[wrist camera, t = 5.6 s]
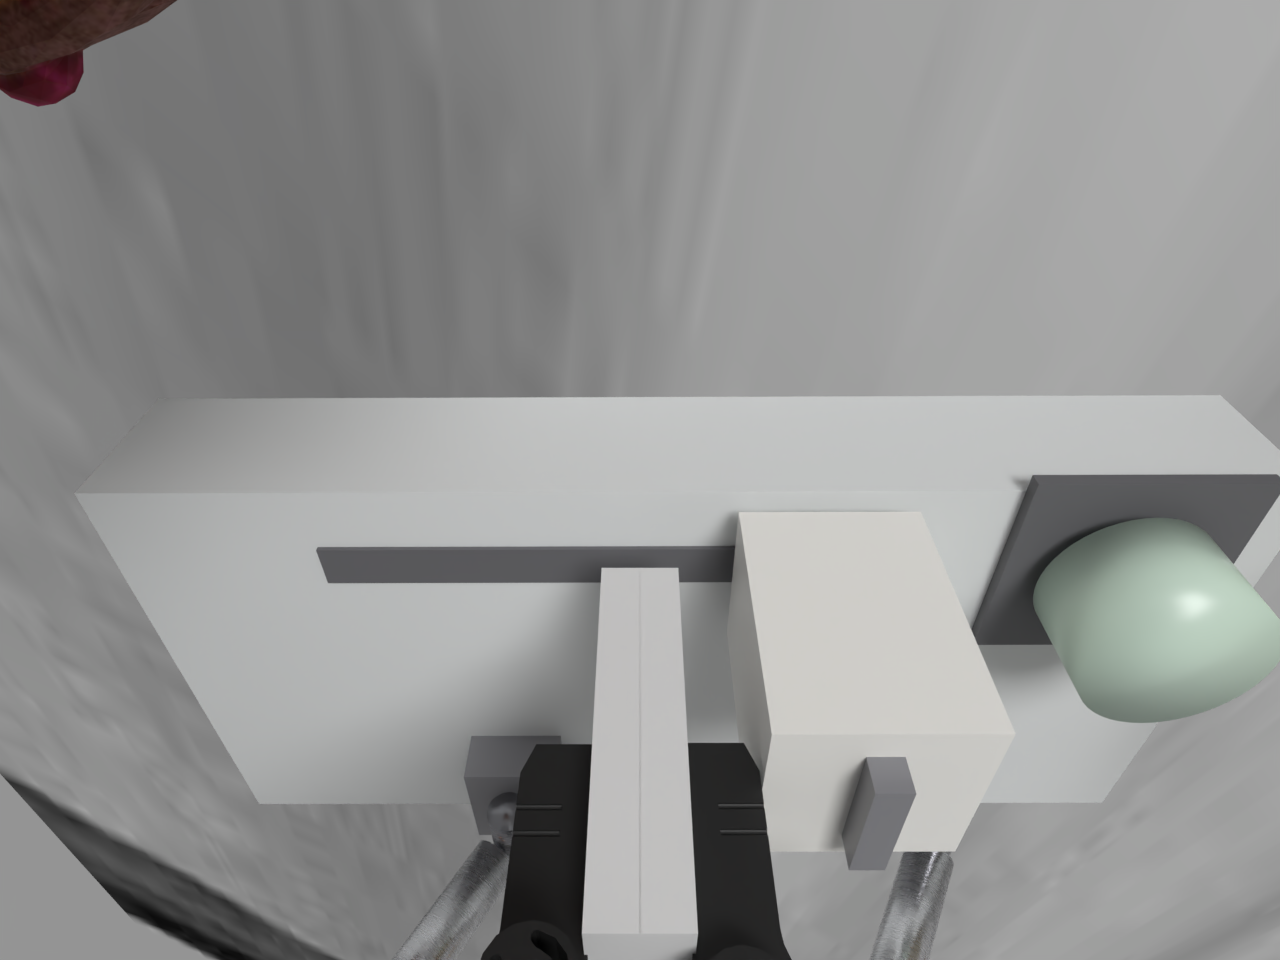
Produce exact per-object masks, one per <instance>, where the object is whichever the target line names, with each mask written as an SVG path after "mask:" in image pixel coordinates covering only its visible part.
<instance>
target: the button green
mask: <svg viewBox="0 0 1280 960" xmlns="http://www.w3.org/2000/svg"><path fill="white" fill-rule="evenodd" d="M1033 605H1034V609H1035V612H1036V614H1037V616H1038V618H1039V620H1040V621H1041V623H1042V625H1043V627H1044V629H1045V631H1046V633H1047V635H1048V637H1049V639H1050V641H1051V643H1052V644H1053V646H1054V648H1055V650H1056V652H1057V654H1058V656H1059V658H1060V660H1061V662H1062V664H1063V666H1064V667H1065V669H1066V671H1067V673H1068V675H1069V677H1070V679H1071V681H1072V683H1073V685H1074V687H1075V689H1076V690H1077V692H1078V694H1079V696H1080V698H1081V700H1082V702H1083V703H1084V704H1085V705H1086V707H1087V708H1089V709H1090V710H1091V711H1093V712H1094V713H1096V714H1098V715H1100V716H1102V717H1105V718H1108V719H1111V720H1115V721H1120V722H1128V723H1154V722H1163V721H1170V720H1176V719H1180V718H1185V717H1189V716H1192V715H1196V714H1199V713H1202V712H1205V711H1208V710H1211V709H1213V708H1216V707H1218V706H1220V705H1223V704H1225V703H1227V702H1229V701H1231V700H1233V699H1235V698H1237V697H1239V696H1240V695H1242V694H1243V693H1245V692H1247V691H1248V690H1250V689H1251V688H1253V687H1254V686H1255V685H1257V684H1258V683H1259V682H1261V681H1262V680H1263V679H1264V678H1265V677H1266V676H1267V675H1268V674H1269V673H1270V672H1271V671H1272V670H1273V669H1274V668H1275V667H1276V665H1277V664H1278V662H1279V661H1280V619H1279V618H1278V617H1277V616H1276V614H1275V613H1274V612H1273V611H1272V610H1271V608H1270V607H1269V606H1268V605H1267V604H1266V602H1265V601H1264V600H1263V599H1262V598H1261V596H1260V595H1259V594H1258V593H1257V592H1256V590H1255V589H1254V588H1253V587H1252V586H1251V584H1250V583H1249V582H1248V581H1247V580H1246V578H1245V577H1244V576H1243V575H1242V574H1241V573H1240V571H1239V570H1238V569H1237V568H1236V567H1235V565H1234V564H1233V563H1232V562H1231V561H1230V559H1229V558H1228V557H1227V556H1226V555H1225V553H1224V552H1223V551H1222V550H1221V549H1220V547H1219V546H1218V545H1217V544H1216V543H1215V541H1214V540H1213V539H1212V538H1211V537H1210V536H1209V535H1208V534H1207V532H1206V531H1204V530H1203V529H1201V528H1200V527H1198V526H1196V525H1194V524H1192V523H1189V522H1186V521H1182V520H1178V519H1171V518H1144V519H1137V520H1131V521H1127V522H1122V523H1118V524H1115V525H1112V526H1109V527H1106V528H1104V529H1101V530H1099V531H1096V532H1094V533H1092V534H1090V535H1088V536H1086V537H1084V538H1082V539H1080V540H1079V541H1077V542H1075V543H1074V544H1072V545H1071V546H1069V547H1068V548H1066V549H1065V550H1064V551H1062V552H1061V553H1060V554H1059V555H1058V556H1057V557H1056V558H1054V559H1053V561H1052V562H1051V563H1050V564H1049V565H1048V566H1047V567H1046V568H1045V570H1044V571H1043V573H1042V574H1041V576H1040V577H1039V579H1038V581H1037V583H1036V586H1035V589H1034V594H1033Z"/></svg>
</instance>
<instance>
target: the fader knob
mask: <svg viewBox="0 0 1280 960" xmlns="http://www.w3.org/2000/svg"><path fill="white" fill-rule="evenodd" d="M727 638H728V647H729V656H730V665H731V674H732V683H733V692H734V701H735V710H736V719H737V728H738V737H739V743H744V744H745V746H746V748H747V749H748V751H749V753H750V755H751V756H752V758H753V760H754V762H755V763H756V765H757V767H758V769H759V771H760V777H761V785H762V792H763V800H764V809H765V815H766V823H767V834H768V838H769V846H770V852H845V854H846V859H847V864H848V869H849V870H885V869H886V867H887V864H888V862H889V859H890V857H891V855H892V852H955V851H956V849H957V847H958V845H959V843H960V841H961V839H962V837H963V835H964V833H965V831H966V830H967V828H968V826H969V824H970V822H971V820H972V818H973V816H974V814H975V812H976V810H977V808H978V806H979V804H980V802H981V800H982V799H983V797H984V795H985V793H986V791H987V789H988V787H989V785H990V783H991V781H992V779H993V777H994V775H995V773H996V771H997V769H998V768H999V766H1000V764H1001V762H1002V760H1003V758H1004V756H1005V754H1006V752H1007V750H1008V748H1009V746H1010V744H1011V742H1012V740H1013V738H1014V737H1015V735H1016V733H1015V731H1014V729H1013V726H1012V724H1011V722H1010V719H1009V717H1008V715H1007V712H1006V710H1005V708H1004V705H1003V703H1002V701H1001V698H1000V696H999V694H998V691H997V689H996V687H995V684H994V682H993V680H992V677H991V675H990V673H989V670H988V668H987V666H986V663H985V661H984V658H983V656H982V654H981V651H980V649H979V647H978V644H977V642H976V640H975V637H974V635H973V633H972V630H971V628H970V626H969V623H968V621H967V619H966V616H965V614H964V612H963V609H962V607H961V605H960V602H959V600H958V598H957V595H956V593H955V591H954V588H953V586H952V584H951V581H950V579H949V577H948V574H947V572H946V569H945V567H944V565H943V562H942V560H941V558H940V555H939V553H938V551H937V548H936V546H935V544H934V541H933V539H932V537H931V534H930V532H929V530H928V527H927V525H926V523H925V520H924V518H923V516H922V513H921V512H739V514H738V524H737V535H736V545H735V555H734V565H733V575H732V585H731V595H730V605H729V615H728V625H727Z"/></svg>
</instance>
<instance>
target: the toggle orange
mask: <svg viewBox="0 0 1280 960" xmlns="http://www.w3.org/2000/svg"><path fill="white" fill-rule="evenodd" d="M517 795H518V794H517V793H513V792H506V793H502V794H500V795H498V796H496V797H495V798H494V799H493V800H492V801H491V802H490V804H489V806H488V809H487V819H488V823H489V827H490V831H491V835H492V839H493V843H494V844H493V843H491V842H488V841H485V840H481V841H480V842H479V843H478V845H477V846H476V847H475V849H474V850H473V851H472V853H471V854H470V855H469V857H468V858H467V859H466V861H465V862H464V863H463V865H462V866H461V867H460V869H459V870H458V871H457V873H456V874H455V876H454V877H453V878H452V880H451V881H450V882H449V884H448V885H447V886H446V888H445V889H444V890H443V892H442V893H441V894H440V896H439V897H438V898H437V900H436V901H435V902H434V904H433V905H432V906H431V908H430V909H429V910H428V912H427V913H426V914H425V916H424V917H423V918H422V920H421V921H420V922H419V924H418V925H417V926H416V928H415V929H414V930H413V932H412V933H411V934H410V936H409V937H408V938H407V940H406V941H405V942H404V944H403V945H402V946H401V948H400V949H399V950H398V952H397V953H396V954H395V956H394V957H393V958H392V960H456V959H457V957H458V956H459V954H460V953H461V952H462V950H463V949H464V947H465V946H466V944H467V943H468V941H469V940H470V938H471V937H472V936H473V934H474V933H475V931H476V930H477V928H478V927H479V925H480V924H481V923H482V921H483V920H484V918H485V917H486V915H487V914H488V912H489V911H490V909H491V908H492V907H493V905H494V904H495V902H496V901H497V899H498V898H499V896H500V895H501V894H502V892H503V891H504V889H505V887H506V879H507V871H508V864H509V856H510V848H511V841H512V837H513V825H514V818H515V810H516V802H517Z"/></svg>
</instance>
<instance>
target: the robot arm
mask: <svg viewBox="0 0 1280 960" xmlns="http://www.w3.org/2000/svg"><path fill="white" fill-rule="evenodd" d="M481 960H792V959H791V957H790V955H789V953H788V951H787V949H786V947H785V945H784V941H783V937H782V933H781V929H780V922H779V914H778V907H777V899H776V891H775V884H774V876H773V868H772V861H771V853H770V846H769V838H768V834H767V823H766V815H765V809H764V800H763V792H762V785H761V777H760V771H759V769H758V767H757V765H756V763H755V762H754V760H753V758H752V756H751V755H750V753H749V751H748V749H747V748H746V746H745V744H744V743H688V739H687V720H686V702H685V683H684V665H683V646H682V627H681V609H680V590H679V572H678V568H602V570H601V589H600V607H599V626H598V644H597V663H596V681H595V700H594V718H593V737H592V744H536V746H535V747H534V749H533V751H532V753H531V755H530V756H529V758H528V760H527V762H526V763H525V765H524V767H523V769H522V770H521V772H520V779H519V787H518V795H517V802H516V810H515V818H514V825H513V837H512V841H511V848H510V856H509V864H508V871H507V879H506V887H505V894H504V902H503V910H502V917H501V925H500V931H499V934H498V935H496V936H495V938H494V939H493V940H492V942H491V943H490V944H489V946H488V947H487V948H486V950H485V951H484V952H483V954H482V957H481Z"/></svg>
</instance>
